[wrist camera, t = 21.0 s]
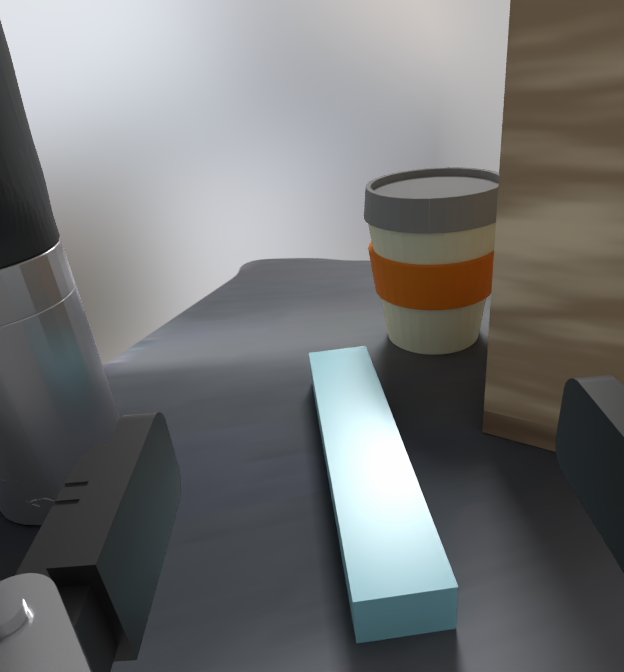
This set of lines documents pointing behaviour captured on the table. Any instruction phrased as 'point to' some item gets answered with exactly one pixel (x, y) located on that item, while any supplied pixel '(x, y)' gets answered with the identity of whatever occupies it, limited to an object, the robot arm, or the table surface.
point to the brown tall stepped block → (557, 215)
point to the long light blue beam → (378, 506)
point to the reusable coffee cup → (433, 254)
